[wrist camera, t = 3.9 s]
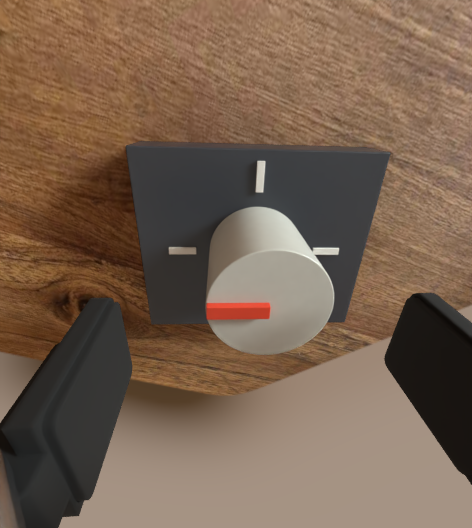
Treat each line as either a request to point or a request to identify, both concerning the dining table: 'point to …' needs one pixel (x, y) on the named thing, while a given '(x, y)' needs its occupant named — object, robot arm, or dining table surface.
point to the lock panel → (244, 196)
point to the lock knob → (265, 284)
